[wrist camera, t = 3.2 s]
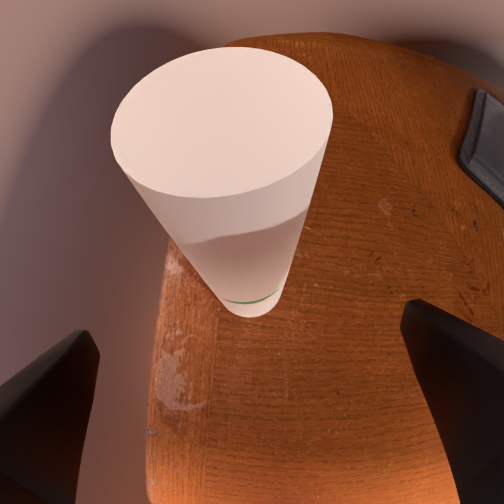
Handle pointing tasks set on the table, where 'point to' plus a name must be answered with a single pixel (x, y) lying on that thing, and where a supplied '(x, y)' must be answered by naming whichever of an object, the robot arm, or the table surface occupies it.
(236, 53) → the tube
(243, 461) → the table surface
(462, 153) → the wallet
